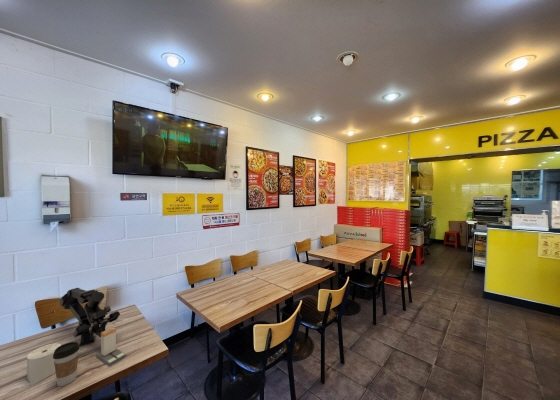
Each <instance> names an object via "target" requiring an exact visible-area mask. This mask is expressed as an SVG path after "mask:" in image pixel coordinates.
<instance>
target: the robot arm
mask: <svg viewBox="0 0 560 400" xmlns="http://www.w3.org/2000/svg"><path fill="white" fill-rule="evenodd" d="M104 298H105V294H104V292H102V291H99V290H95V289H88V290H85V289H82V288H80V287H75V288H72V289H69V290H67V292H66V293H65V294H64V295H62V296H61V298H60V300H59V306H60V307H62V308H63V309H64V310H69V311H70V312H71V313H72V314H73V316H74V317H75V318H76V320H77V321H78V325H77V326H76V327H75V329H74V330H73V333H72V334H73V335H72V336H73V337H74V338H78V337H80V341H79V342H78V345H79V347H82V346H86V345H89V344H90V345H91V344H92V343H95V341H96V336H98V337H99V338H101V332H103V331H105V330H106V326H107V325H108V323H112V322H114V321H115V322H116V321H117V320H118V319H119V317H120V316H121V313H120V312H119V311H118V310H117V311H113V312H111V311H112V309H111V307H110V305H107V306H104V308H103V309H102V308H100V305H101V303H102V302H103V300H104ZM84 304H85V305H84ZM83 305H84V306H83ZM110 312H111V313H110ZM108 313H109V315H108ZM107 315H108V316H107ZM106 316H107V317H106Z"/></svg>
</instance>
